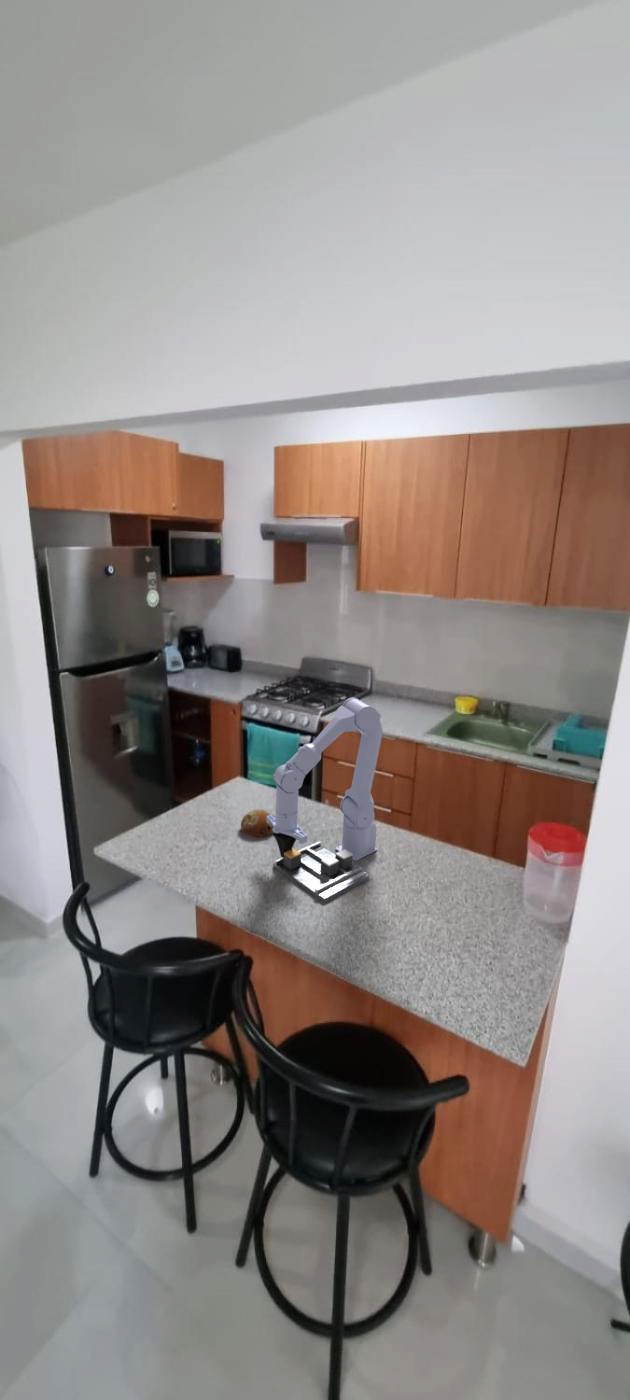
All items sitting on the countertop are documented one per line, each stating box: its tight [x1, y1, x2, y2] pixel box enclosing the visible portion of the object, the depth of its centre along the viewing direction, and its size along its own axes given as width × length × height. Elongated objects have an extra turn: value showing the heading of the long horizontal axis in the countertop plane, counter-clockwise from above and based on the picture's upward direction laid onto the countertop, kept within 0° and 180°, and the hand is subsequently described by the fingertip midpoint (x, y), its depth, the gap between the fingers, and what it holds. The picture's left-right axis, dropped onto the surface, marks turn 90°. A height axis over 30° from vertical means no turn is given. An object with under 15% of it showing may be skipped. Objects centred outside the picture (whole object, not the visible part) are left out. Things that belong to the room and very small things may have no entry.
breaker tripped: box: [284, 848, 301, 870], centre depth 147 cm, size 3×3×4 cm
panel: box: [272, 841, 370, 904], centre depth 147 cm, size 16×20×2 cm
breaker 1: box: [321, 856, 339, 877], centre depth 145 cm, size 3×3×4 cm
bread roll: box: [240, 808, 274, 838], centre depth 168 cm, size 10×10×8 cm
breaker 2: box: [335, 849, 353, 870], centre depth 148 cm, size 3×3×4 cm
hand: (285, 856), depth 149 cm, fingers closed
